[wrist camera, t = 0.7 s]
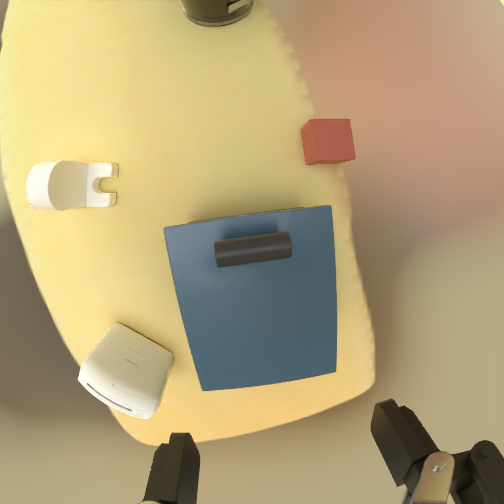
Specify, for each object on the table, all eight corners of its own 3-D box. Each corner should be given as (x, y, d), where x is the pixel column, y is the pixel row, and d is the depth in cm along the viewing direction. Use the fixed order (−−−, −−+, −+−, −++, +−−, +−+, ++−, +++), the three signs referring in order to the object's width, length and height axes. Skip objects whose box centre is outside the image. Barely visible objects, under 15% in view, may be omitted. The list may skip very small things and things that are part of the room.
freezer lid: (165, 226, 22) (146, 236, 17) (328, 204, 22) (351, 209, 18) (203, 386, 26) (197, 420, 21) (334, 367, 26) (349, 397, 21)
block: (300, 128, 30) (310, 119, 26) (335, 127, 30) (349, 118, 26) (306, 164, 31) (316, 161, 27) (341, 162, 31) (355, 159, 27)
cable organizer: (58, 166, 29) (11, 163, 20) (118, 163, 30) (76, 156, 20) (56, 204, 30) (9, 212, 21) (115, 206, 31) (72, 213, 21)
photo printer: (179, 353, 36) (159, 414, 24) (167, 372, 36) (147, 433, 24) (115, 316, 34) (73, 364, 22) (106, 337, 35) (68, 387, 23)
